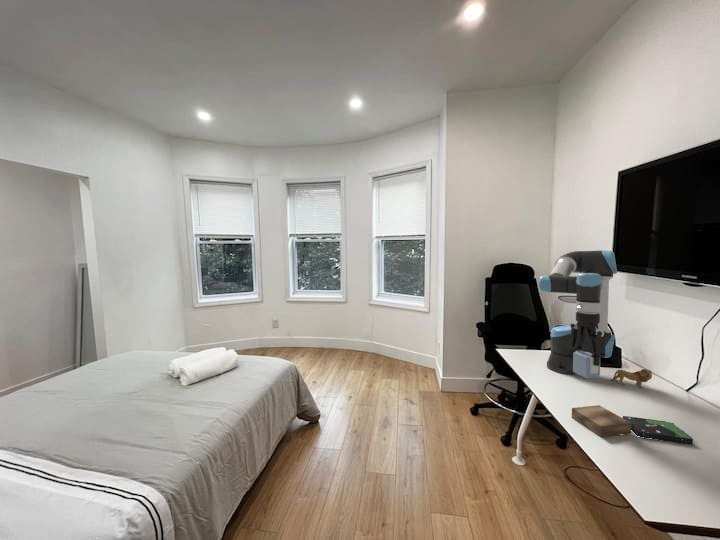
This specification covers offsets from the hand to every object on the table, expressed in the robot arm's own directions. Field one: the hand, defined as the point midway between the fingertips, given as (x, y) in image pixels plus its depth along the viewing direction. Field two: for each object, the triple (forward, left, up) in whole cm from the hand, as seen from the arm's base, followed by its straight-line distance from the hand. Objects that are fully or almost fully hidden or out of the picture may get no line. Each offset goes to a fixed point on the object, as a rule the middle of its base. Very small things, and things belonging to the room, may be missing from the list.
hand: (586, 369), depth 115 cm
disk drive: (+15, +13, -19) cm, 27 cm away
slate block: (0, 0, -2) cm, 2 cm away
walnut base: (+8, -2, -18) cm, 20 cm away
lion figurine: (-17, +42, -18) cm, 49 cm away
